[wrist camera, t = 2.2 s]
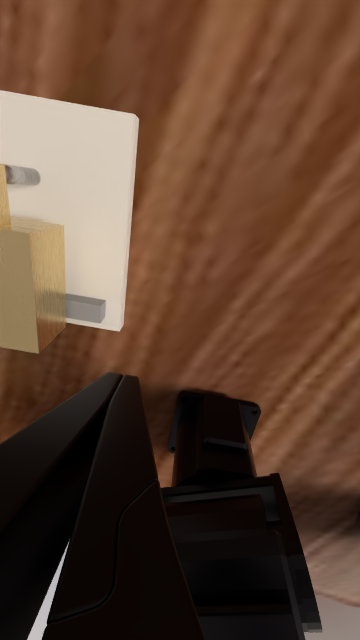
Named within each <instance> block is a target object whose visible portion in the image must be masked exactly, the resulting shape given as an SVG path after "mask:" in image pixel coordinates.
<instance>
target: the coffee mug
mask: <svg viewBox="0 0 360 640" xmlns="http://www.w3.org/2000/svg"><path fill="white" fill-rule="evenodd" d="M357 522H358V525H359V528H360V511H359V513H358V515H357Z"/></svg>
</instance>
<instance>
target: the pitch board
mask: <svg viewBox="0 0 360 640" xmlns="http://www.w3.org/2000/svg"><path fill="white" fill-rule="evenodd" d="M138 127H139V119H138V118H137V116H136V115H135V114H130V113H125V112H119V111H113V110H108V109H102V108H97V107H91V106H85V105H80V104H74V103H69V102H63V101H57V100H52V99H46V98H41V97H35V96H29V95H24V94H18V93H13V92H7V91H1V90H0V164H6V165H13V166H20V167H27V168H33V169H35V170H37V171H38V173H39V174H40V178H41V180H40V183H39V184H38V185H12V184H7V191H8V200H9V209H10V216H14V217H20V218H26V219H31V220H37V221H43V222H48V223H54V224H60V225H64V244H65V283H66V322H67V323H73V324H79V325H85V326H91V327H96V328H102V329H108V330H114V331H120V330H121V328H122V326H123V323H124V310H125V297H126V284H127V271H128V258H129V245H130V231H131V218H132V205H133V192H134V179H135V166H136V153H137V140H138Z"/></svg>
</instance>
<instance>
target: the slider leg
mask: <svg viewBox="0 0 360 640" xmlns="http://www.w3.org/2000/svg"><path fill="white" fill-rule="evenodd" d="M40 180H41V178H40V174H39V173H38V171H37V170H35V169H33V168H27V167H20V166H13V165H6V164H0V347H3V348H9V349H15V350H21V351H26V352H32V353H38V354H39V353H40V352H41V351H42V350H43V349H44V348H45V347H46V346H47V345H48V344H49V343H50V342H51V341H52V340H53V339H54V338H55V337H56V336H57V335H58V334H59V333H60V332H61V331H62V330H63V329H64V328H65V327H66V326H67V322H66V283H65V244H64V225H60V224H54V223H48V222H43V221H37V220H31V219H26V218H20V217H14V216H10V209H9V200H8V191H7V184H12V185H38V184H39V183H40Z"/></svg>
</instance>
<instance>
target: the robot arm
mask: <svg viewBox="0 0 360 640" xmlns="http://www.w3.org/2000/svg"><path fill="white" fill-rule="evenodd" d="M182 398H186V399H182ZM252 410H255V411H252ZM260 414H261V410H260V407H259V405H258V404H254V403H248V402H243V401H237V400H231V399H225V398H219V397H213V396H208V395H202V394H196V393H190V392H180V393H179V395H178V398H177V403H176V408H175V413H174V418H173V423H172V428H171V433H170V438H169V443H168V451H169V452H171V453H175V455H174V465H173V475H172V485H171V487H165V488H160V483H159V481H158V474H157V469H156V464H155V459H154V454H153V449H152V444H151V439H150V434H149V429H148V424H147V418H146V413H145V408H144V403H143V398H142V393H141V388H140V383H139V378H138V377H137V376H131V375H124V376H123V375H122V374H120V373H114V372H108V373H106V374H105V375H103V376H101V377H100V378H98V379H97V380H95V381H94V382H92V383H91V384H89V385H88V386H86V387H85V388H83V389H82V390H80V391H79V392H77V393H76V394H74V395H73V396H71V397H70V398H68V399H67V400H65V401H64V402H62V403H61V404H59V405H58V406H56V407H55V408H53V409H52V410H50V411H49V412H47V413H46V414H44V415H43V416H41V417H40V418H38V419H37V420H35V421H34V422H32V423H31V424H29V425H28V426H26V427H25V428H23V429H22V430H20V431H19V432H17V433H16V434H14V435H13V436H11V437H10V438H8V439H7V440H5V441H4V442H2V443H1V444H0V640H27V638H28V636H29V634H30V631H31V629H32V627H33V624H34V622H35V619H36V617H37V615H38V612H39V610H40V608H41V605H42V603H43V601H44V598H45V596H46V594H47V591H48V589H49V586H50V584H51V582H52V580H53V577H54V575H55V573H56V570H57V568H58V566H59V563H60V561H61V558H62V556H63V554H64V552H65V549H66V547H67V544H68V542H69V545H68V548H67V552H66V555H65V559H64V562H63V566H62V569H61V573H60V576H59V580H58V583H57V587H56V591H55V594H54V598H53V601H52V605H51V608H50V612H49V615H48V619H47V626H46V628H45V630H44V634H43V637H42V640H305V636H304V632H322V625H321V620H320V616H319V611H318V607H317V603H316V598H315V595H314V591H313V587H312V583H311V579H310V575H309V571H308V567H307V564H306V560H305V557H304V553H303V549H302V546H301V542H300V539H299V536H298V532H297V529H296V526H295V523H294V520H293V516H292V513H291V510H290V507H289V504H288V501H287V497H286V494H285V491H284V488H283V485H282V481H281V478H280V475H279V473H273V474H270V476H261V477H257V474H256V469H255V464H254V459H253V454H252V449H251V444H250V440H251V437H252V435H253V432H254V430H255V427H256V424H257V422H258V419H259V417H260ZM69 540H70V541H69Z"/></svg>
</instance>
